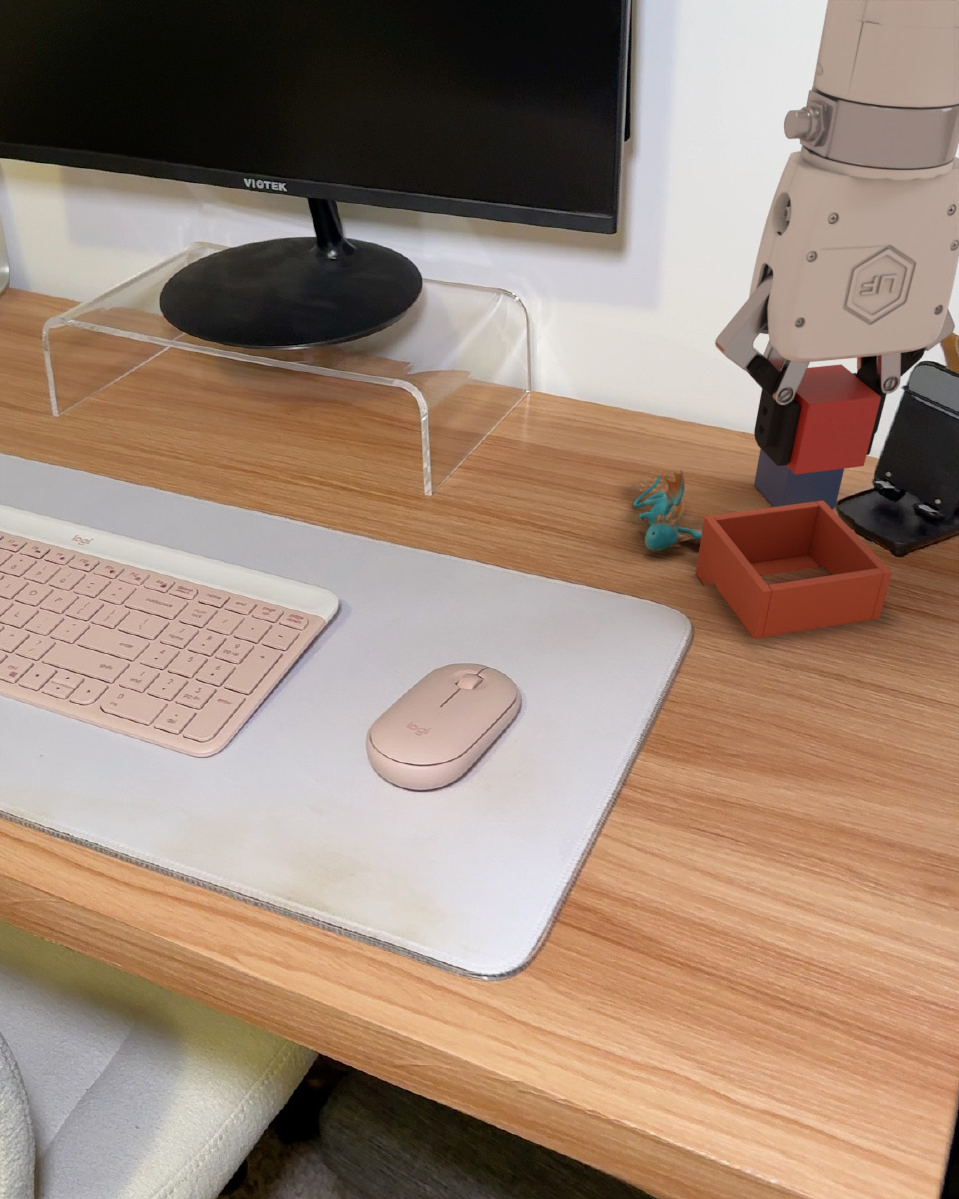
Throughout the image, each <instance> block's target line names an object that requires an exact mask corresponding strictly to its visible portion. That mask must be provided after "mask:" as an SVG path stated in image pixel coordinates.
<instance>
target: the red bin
mask: <svg viewBox="0 0 959 1199" xmlns="http://www.w3.org/2000/svg"><path fill="white" fill-rule="evenodd" d="M701 531H702V536H701V539H700V542H699V549H698V556H697V563H696V569H695V574H696V576H697V577H698V579H699V580H700V582H701V583H702V584H703V585H704V586H707V585H712V584H713V585H714V586H715V588H716V589H717V590H718V592H719V593H720V595H721V596H722V597H723V599H724V600H725V601H726V603H727V604H728V605H729V607H730V608H731V610H732V611H733V613H735V615H736V616H737V618H738V619H739V620H740V622H741V623H742V624H743V626H744V627H745V629H746V630H747V631H748V633H749V634H750V635H751V637H752V638H753V639H760V638H766V637H772V636H777V635H783V634H789V633H795V632H802V631H809V630H814V629H821V628H828V627H833V626H840V625H845V624H852V623H857V622H864V621H870V620H876V619H880V616H881V614H882V611H883V610H882V609H883V605H884V602H885V598H886V595H887V592H888V588H889V584H890V581H891V577H892V573H893V571H892V570H891V569H890V568H889V567H888V566H887V564H885V563H884V562H883V561H882V560H881V559H880V558H879V557H878V556H877V555H876V553H875V552H873V550H872V549H871V548H870V547H869V546H868V545H867V544H866V543H865V542H864V540H862V539H861V538H860V537H859V536H858V535H857V534H856V533H855V532H854V530H853V529H852V528H850V527H849V525H848V524H846V522H845V521H844V520H843V519H842V518H841V517H840V516H839V515H838V514H837V513H836V511H834V510H833V508H830V507H829V506H828V505H827V504H826V503H825V502H824V501H823V500H822V501H816V502H807V503H800V504H793V505H786V506H778V507H773V506H771V507H764V508H758V509H757V508H756V509H751V510H750V509H749V510H742V511H736V512H728V513H720V514H714V515H706V516H704V517H703V523H702V529H701ZM818 568H819V569H820V568H825V569H826V570H827V571H828V573H829V574H830V575H824V576H818V577H811V578H804V579H799V580H791V581H785V582H779V583H772V584H767V583H766V582H765V580H764V579H763V578H762V577H766V576H772V575H778V574H785V573H791V572H798V571H805V570H813V569H818Z"/></svg>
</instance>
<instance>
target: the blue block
mask: <svg viewBox="0 0 959 1199" xmlns="http://www.w3.org/2000/svg"><path fill="white" fill-rule="evenodd" d="M844 471H845V468H844V469H836V470H828V471H820V472H812V473H804V474H794V473H793V472H792V471H791V470H790V469H789V468H788V467H787V466H786V465H783V466H777V465H776V464H775V463H774V462H773V461H772V460H771V459H770V458H769V457H768V456H767V454H766V453H765V452H764V451H763V450H762V449H761V448H760V449H759V454H758V459H757V466H756V472H755V477H754V483H753V484H754V485H753V486H754V487H755V488H756V489H757V490H758V491H759V493H760V494H762V496H763V497H764V498H765V499H766V500H767V501H768V502H769V504H770V505H771V507H778V506H786V505H793V504H800V503H807V502H816V501H822V500H823V501H824V502H825V503H826V504H827V505H828V506H829V507H830V508H831V509H834V508H836V507H837V503H838V498H839V493H840V489H841V485H842V480H843V476H844Z"/></svg>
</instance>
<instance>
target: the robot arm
mask: <svg viewBox="0 0 959 1199" xmlns="http://www.w3.org/2000/svg"><path fill="white" fill-rule="evenodd" d="M807 94H808V95H807V101H806V106H803V107H802V108H800V109H793V110H788V112H787V113H786V115H785V117H784V122H783V131H784V135H785V137H786V139H787V140H797V139H798V140H799V144H800V145H801V148H800V150H799V151H793V152H790V154H789V157H788V159H787V161H786V163H785V165H784V168H783V171H782V173H781V176H780V178H779V181H778V184H777V187H776V189H775V192H774V195H773V197H772V201H771V204H770V207H769V210H768V214H767V217H766V219H765V224H764V228H763V231H762V235H761V238H760V243H759V247H758V251H757V255H756V259H755V264H754V269H753V273H752V278H751V282H750V288H749V294H748V299H747V300H746V301H745V302H744V303H743V305H742V306H741V307H740V308H739V310H738V311H737V312H736V313H735V314H734V316H733V317H732V318H731V320H730V321H729V322H728V323H727V324H726V326H725V327H724V328H723V329H722V330H721V332H720V333H719V334H718V335H717V337H716V339H715V340H714V345H715V347H716V348H717V350H719V352H720V353H721V354H723V355H724V356H725V357H726V358H727V359H728V360H730V361H731V362H732V363H734V364H735V365H736V366H738V367H739V368H741V369H742V370H744V371H745V372H746V373H747V374H748V375H749V376H750V377H751V378H752V379H753V380H754V381H755V383H756V384H757V385H758V386H759V387H760V388H761V391H760V392H761V393H760V397H759V403H758V409H757V415H756V420H755V425H754V432H753V434H754V440H755V442H756V444H757V446H758V447H759V448H760V449H762V450H763V451H764V452H765V453H766V454H767V456H768V457H769V458H770V459H771V460H772V461H773V462H774V463H775V464H776V465H777V466H783V465H788V463H789V462H790V460H791V455H792V450H793V445H794V440H795V435H796V431H797V426H798V421H799V416H800V411H801V407H800V405H799V404H798V403H797V402H796V401H795V400H794V397H795V395H796V393H797V391H798V388H799V386H800V384H801V381H802V379H803V377H804V375H805V372H806V370H807V368H809V365H810V363H813V362H814V363H815V362H825V361H837V360H838V361H839V360H846V359H856V372H851V373H852V374H854V375H855V376H856V377H857V378H858V379H860V380H861V381H862V382H863V383H865V384H866V385H867V386H868V387H869V388H871V389H872V390H873V391H874V392H875V393H877V394H878V395H879V396H880V397H881V399H880V403H879V407H878V411H877V415H876V419H875V423H874V427H873V431H872V435H871V439H870V443H869V447H868V451H867V455H866V456H870V455H871V452H872V448H873V443H874V440H875V436H876V434H877V432H878V430H879V425H880V422H881V419H882V418H881V417H882V415H883V414H882V413H883V410H884V406H885V402H886V398H887V396H888V395H889V394H892V393H894V392H895V391H897V389H898V388H899V387H900V384H901V378H902V377H903V376H904V375H905V374H906V373H907V372H908V371H909V370H910V369H912V367H913V366H915V365H916V364H917V363H918V362H919V361H920V360H921V359H922V358H923V356H924V355H925V352H929V351H930V350H932V349H934V347H935V346H937V345H938V344H940V343H942V342H943V341H944V340H945V339H946V338H948V337H949V336H951V335H952V334H953V332H954V330H955V327H956V326H955V322H954V319H953V317H952V315H951V312H950V310H949V306H950V302H951V297H952V293H953V289H954V285H955V279H956V276H957V275H956V274H957V269H958V263H959V157H957V156H956V155H957V152H958V147H959V0H827V3H826V10H825V14H824V20H823V25H822V31H821V36H820V43H819V49H818V53H817V59H816V64H815V70H814V76H813V82H812V86H811V89H809V90H808V93H807ZM760 334H763V335H768V339H769V340H768V342H767V345H766V347H765V350H764V351H763V354H762V353H761V352H760V351H759V350H758V349H757V348H756V347H754V342H755V340H756V338H757V337H759V335H760Z"/></svg>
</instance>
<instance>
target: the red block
mask: <svg viewBox="0 0 959 1199" xmlns="http://www.w3.org/2000/svg"><path fill="white" fill-rule="evenodd" d="M852 373H853V372H851V371H850V370H849V369H848V368H847V367H845V366H844V365H843V364H841V363H840V364H831V365H822V366H812V367H808V368H807V370H806V372H805V375H804V377H803V379H802V381H801V384H800V386H799V388H798V391H797V393H796V395H795V397H794V400H795V401H796V402H797V403H798V404H799V405H800V407H801V411H800V416H799V421H798V426H797V431H796V435H795V440H794V445H793V450H792V455H791V460H790V462H789V463H788V465H786V466H787V467H788V468H789V469H790V470H791V471H792V472H793V473H794V474H804V473H812V472H820V471H828V470H836V469H844V470H845V469H850V468H859V467H864V466H865V463H866V458H867V456H868V455H867V451H868V447H869V443H870V439H871V435H872V431H873V427H874V423H875V419H876V415H877V411H878V407H879V403H880V399H881V397H880V396H879V395H878V394H877V393H875V392H874V391H873V390H872V389H871V388H869V387H868V386H867V385H866V384H865V383H863V382H862V381H861V380H860V379H858V378H857V377H856V376H855V375H854V374H852Z"/></svg>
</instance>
